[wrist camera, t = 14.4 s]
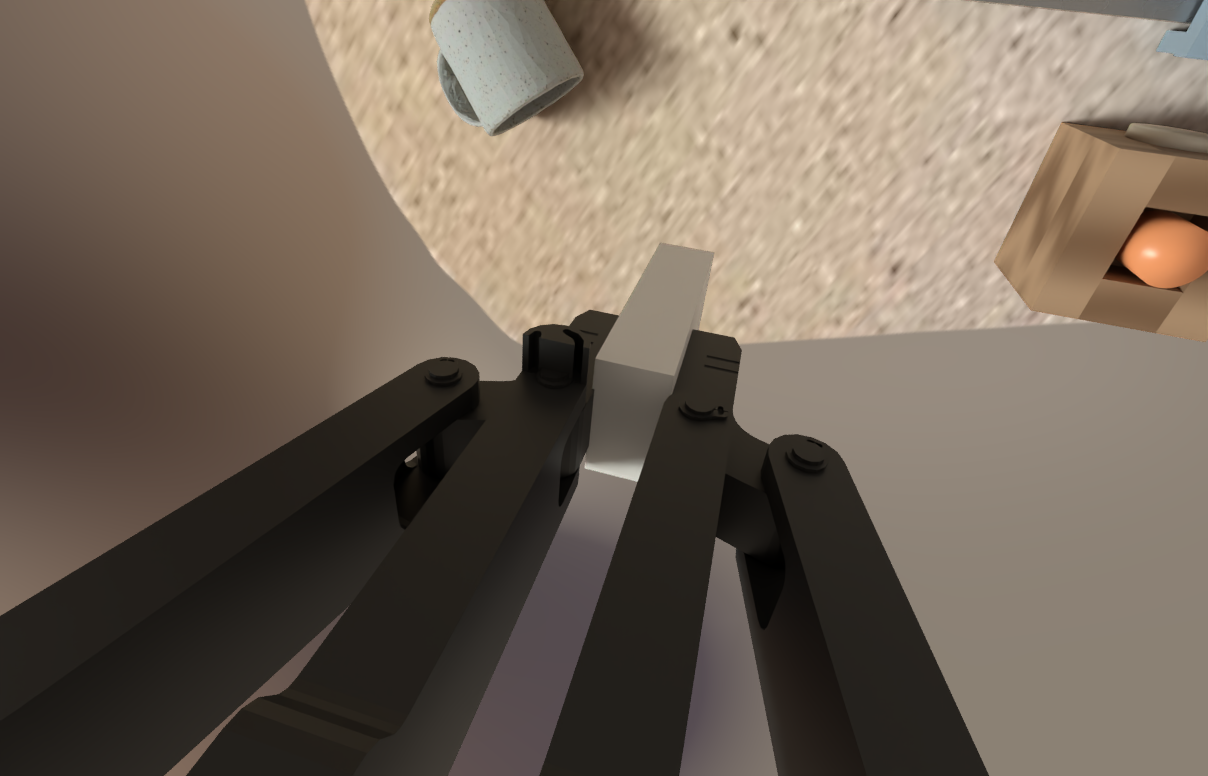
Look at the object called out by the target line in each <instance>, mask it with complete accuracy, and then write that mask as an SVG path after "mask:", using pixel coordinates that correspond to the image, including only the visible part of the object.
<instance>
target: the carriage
mask: <svg viewBox="0 0 1208 776" xmlns="http://www.w3.org/2000/svg"><path fill="white" fill-rule="evenodd" d="M1156 51H1158V52H1165V53H1173V54H1174V55H1173V56H1177V57H1184V58H1193V59H1202V60H1208V0H1204V1H1203V3H1202V5H1201V6H1200V8H1199V10H1198V12H1197V14H1196V15H1195V17H1194V19H1193V21H1192V23H1191V24H1190V26H1189V28H1188V30H1187V32H1182V31H1169V30H1167V31H1166V33H1165V35H1164V37H1163V39H1162V41H1161V42H1160V44H1159V46H1158V48H1157V50H1156Z"/></svg>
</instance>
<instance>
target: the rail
mask: <svg viewBox="0 0 1208 776" xmlns="http://www.w3.org/2000/svg"><path fill="white" fill-rule="evenodd" d="M965 1H975V2H984V3H994V4H1003V5H1013V6H1023V7H1032V8H1042V9H1052V10H1061V11H1071V12H1080V13H1090V14H1100V15H1109V16H1119V17H1129V18H1138V19H1148V20H1158V21H1167V22H1177V23H1186V24H1191V23H1192V21H1193V19H1194V17H1195V15H1196V14H1197V12H1198V10H1199V8H1200V6H1201V5H1202V3H1203V1H1204V0H965Z"/></svg>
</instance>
